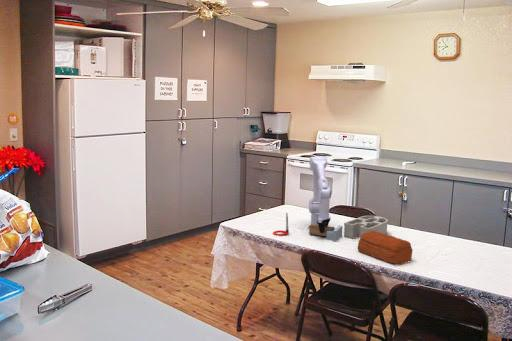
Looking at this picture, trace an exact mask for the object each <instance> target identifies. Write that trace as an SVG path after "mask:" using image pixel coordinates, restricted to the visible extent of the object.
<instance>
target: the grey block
mask: <svg viewBox="0 0 512 341" xmlns="http://www.w3.org/2000/svg"><path fill="white" fill-rule="evenodd" d="M343 226H344V225H338V226H337V227H334V230H333V232H332V231H327V236H325V237H326V240H329V241H332V242H337V241H338V240H340V238H341V237H342V236H343Z"/></svg>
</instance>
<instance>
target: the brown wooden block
mask: <svg viewBox="0 0 512 341" xmlns="http://www.w3.org/2000/svg"><path fill="white" fill-rule="evenodd" d="M308 227H309V228H308V235H316V236H321V237H327V231H332V232H333V230H334V228H335V227H334V226H329V225H328V226H325V230H324V233H320V230H319V226H318V225H316V224H311V223H310V225H309V226H308Z"/></svg>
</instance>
